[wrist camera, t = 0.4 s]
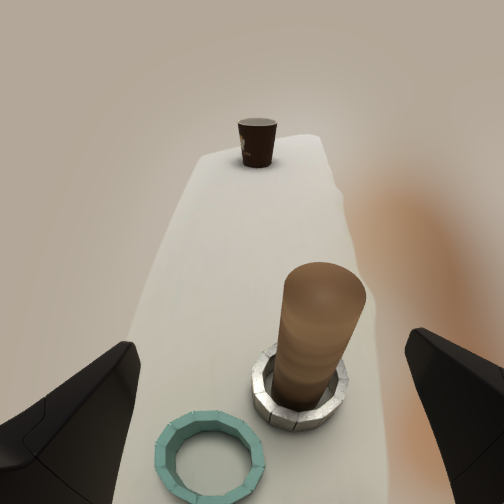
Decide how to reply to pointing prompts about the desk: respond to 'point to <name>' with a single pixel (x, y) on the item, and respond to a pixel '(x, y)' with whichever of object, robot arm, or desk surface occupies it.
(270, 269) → the desk surface
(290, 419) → the stand collar
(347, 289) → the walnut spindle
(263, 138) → the coffee mug
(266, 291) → the desk surface
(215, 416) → the teal collar socket
